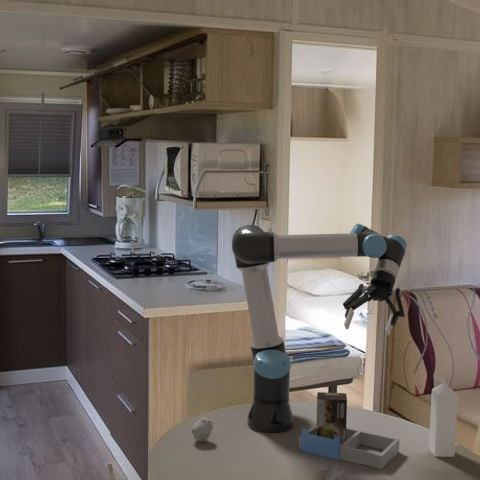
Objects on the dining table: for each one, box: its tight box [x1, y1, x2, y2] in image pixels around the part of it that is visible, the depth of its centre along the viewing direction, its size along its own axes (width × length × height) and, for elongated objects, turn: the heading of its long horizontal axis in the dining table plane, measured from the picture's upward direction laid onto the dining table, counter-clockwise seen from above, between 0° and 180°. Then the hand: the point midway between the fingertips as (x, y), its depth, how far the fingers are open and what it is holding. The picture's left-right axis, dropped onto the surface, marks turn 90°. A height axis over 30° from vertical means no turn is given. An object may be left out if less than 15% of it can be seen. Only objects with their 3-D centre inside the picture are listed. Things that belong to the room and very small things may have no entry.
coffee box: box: [315, 391, 348, 445], centre depth 226 cm, size 9×6×16 cm
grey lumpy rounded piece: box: [191, 417, 214, 443], centre depth 229 cm, size 6×7×7 cm
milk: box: [428, 379, 459, 458], centre depth 223 cm, size 6×6×22 cm
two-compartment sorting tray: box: [298, 424, 401, 470], centre depth 224 cm, size 26×16×7 cm, turn 59°
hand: (366, 330), depth 235 cm, fingers open, 13 cm apart
